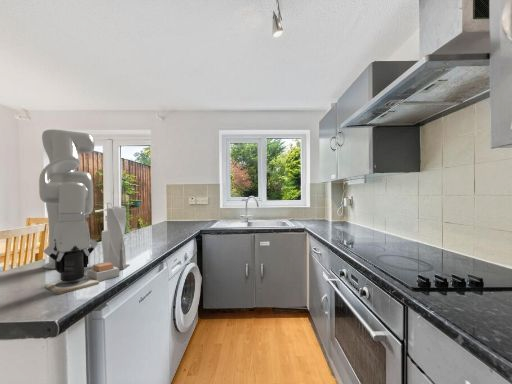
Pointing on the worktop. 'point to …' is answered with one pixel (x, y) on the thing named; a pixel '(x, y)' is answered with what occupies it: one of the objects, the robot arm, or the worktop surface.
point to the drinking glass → (105, 245)
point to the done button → (102, 266)
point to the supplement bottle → (72, 265)
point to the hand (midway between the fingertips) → (72, 269)
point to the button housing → (103, 274)
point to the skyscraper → (116, 236)
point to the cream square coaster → (71, 285)
